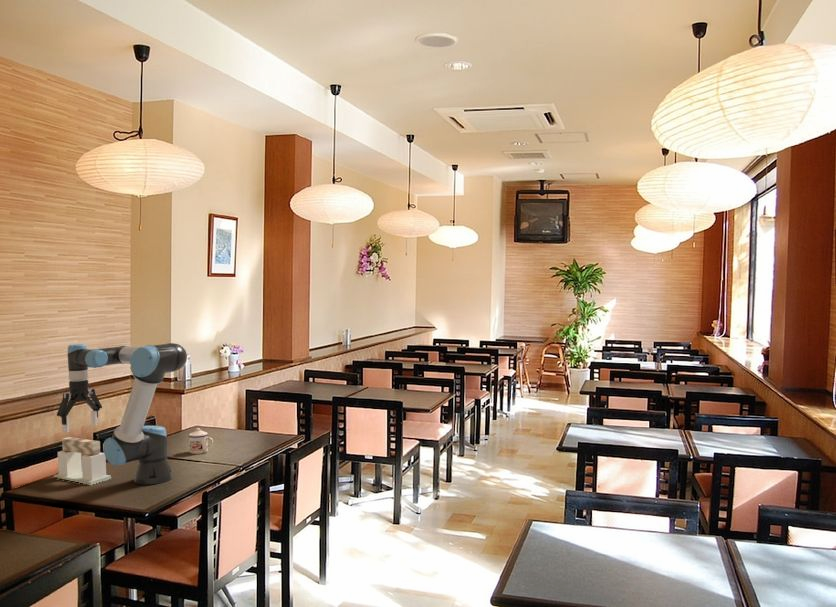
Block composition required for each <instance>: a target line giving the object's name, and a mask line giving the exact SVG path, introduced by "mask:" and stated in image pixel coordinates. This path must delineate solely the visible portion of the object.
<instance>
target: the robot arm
mask: <svg viewBox="0 0 836 607" xmlns="http://www.w3.org/2000/svg"><path fill="white" fill-rule="evenodd" d="M66 355H67V368H68V380H69V381H68V386H69V387H68V388H69V389H68V390H69V393H66V392H64V393H62V399H61V402H60V405H59V408H58V409H57V412H56V416H57V417H60V419H61V425H62V426H63V428H62V429H63V432H64V433H70V417H69V416H68V415H69V413H70V412H71V410H72V409H73V407H74V406H75V405H76V404H77V403H80V402H85V404H87V405H88V406H89V407H90V409H91V411H90V413H91V415H90V416H91V417H90V418H91V426H92V427H97V426H98V418H99V411H100V410H101V409H102V408H103V406H102V404H101V402H100V400H99V398H98V396H97V395H96V389H95V388H89V380H88V379H89V370H88V368H92V369H96V368H103V367H104V366H111V365H130V371H131V373H132V376H133V378H134V381H133V384H132V387H131V390H130V394H129V397H128V399H127V404H126V407H125V409H124V413H123V415H122V420H121V422H120V426H117V427H116V428H114V431H113V434H112V437H108V438H106V439H105V440H104V442H103V445H102V447H103V448H102V449H103V450H102V451H103V453H104V454H105V457H106V461H108V463H109V464H111V465H113V466H121V465H122V466H123V465H125V464H126V465H127V464H129V463H132V462H135V461H137V462H138V463H137V467H136V471H135V474H134V478H133V479H134V483H135V484H136V485H137V484H138V485H155V484H161V483H165V482H167V481H168V482H169V481H170V480H171V479H172V478H173V472H172V470H171V466H170V464H169V461H168V444H167V443H168V441H167V439H168V437H167V430H166V427H164V426H160V425H145V423H146V419H147V418H148V417H147V416H148V414H149V410H150V408H151V405H152V404H151V403H152V402H153V398H154V397H155V396H154V395H155V392H156V389H157V386H158V384H161V383H163V381H164V378H165V375H166V374H169V373H173V372H177V371H179V370H180V369H182V368H183V367H184V366H185V364H186V362H187V360H188V353H187V351H186V349H185V348H184V347H183V346H182V345H180V344H178V343H174V342H171V343H170V342H169V343H163V344H154V345H152V344H151V345H150V344H149V345H145V346H130V345H119V346H112V347H104V348H94V349H91V348H90V349H88V346H87V344H85V343H73V344H69V345H68V346H67V354H66Z"/></svg>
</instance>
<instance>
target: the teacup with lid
mask: <svg viewBox="0 0 836 607" xmlns="http://www.w3.org/2000/svg"><path fill="white" fill-rule="evenodd" d="M208 435H209V434H208V432H207V431H204V430H202V429H201V428H198V427H197V428H196V429H195V430H194V431H192V432H191V433H189V434H188V440H189V442H188V443H189V444H188V445H189V453H190V454H193V455H201V454H205V453H207V452H208V451H209V450H208V448H211V447H212V446H213V445H214V440H213V438H212V437H210V436H209V437H208ZM208 440H210V441H211V442H210V444H208V442H209V441H208Z"/></svg>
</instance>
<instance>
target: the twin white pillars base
mask: <svg viewBox="0 0 836 607" xmlns="http://www.w3.org/2000/svg"><path fill="white" fill-rule="evenodd" d="M106 461H107V459H106V457H105V454H104V452H100V453H99V454H98V455H94V456H89V454H83V455H82V453H78V452H72V451H70V452H64V450H63V449H62V450H60V451H57V467H58V468H57V470H58V473H57V474H54V475H53V478H54V477H58V478H62V479H66V480H70V481H75V482H79V483H78V484H80V483H83V484H82V485H86V484H87V486H93V484H94V485H96V483H97V484H100V483H102V481H103V482H106V481H109V479H110V480H112V475H110V474H107V462H106ZM70 481H69V482H70ZM75 482H74V483H75ZM99 482H100V483H99Z"/></svg>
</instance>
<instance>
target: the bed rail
mask: <svg viewBox="0 0 836 607" xmlns="http://www.w3.org/2000/svg"><path fill="white" fill-rule="evenodd" d="M61 441H62V444H61V445H62V451H63V450H64V452H70V451H72V452H78V453H81V454H84V455H86V454H89V456H94V455H98V454H99V453H101V441H100V440H94V439H93V440H92V439H86V438H80V437H73V436H69V437H64V438H61Z"/></svg>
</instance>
